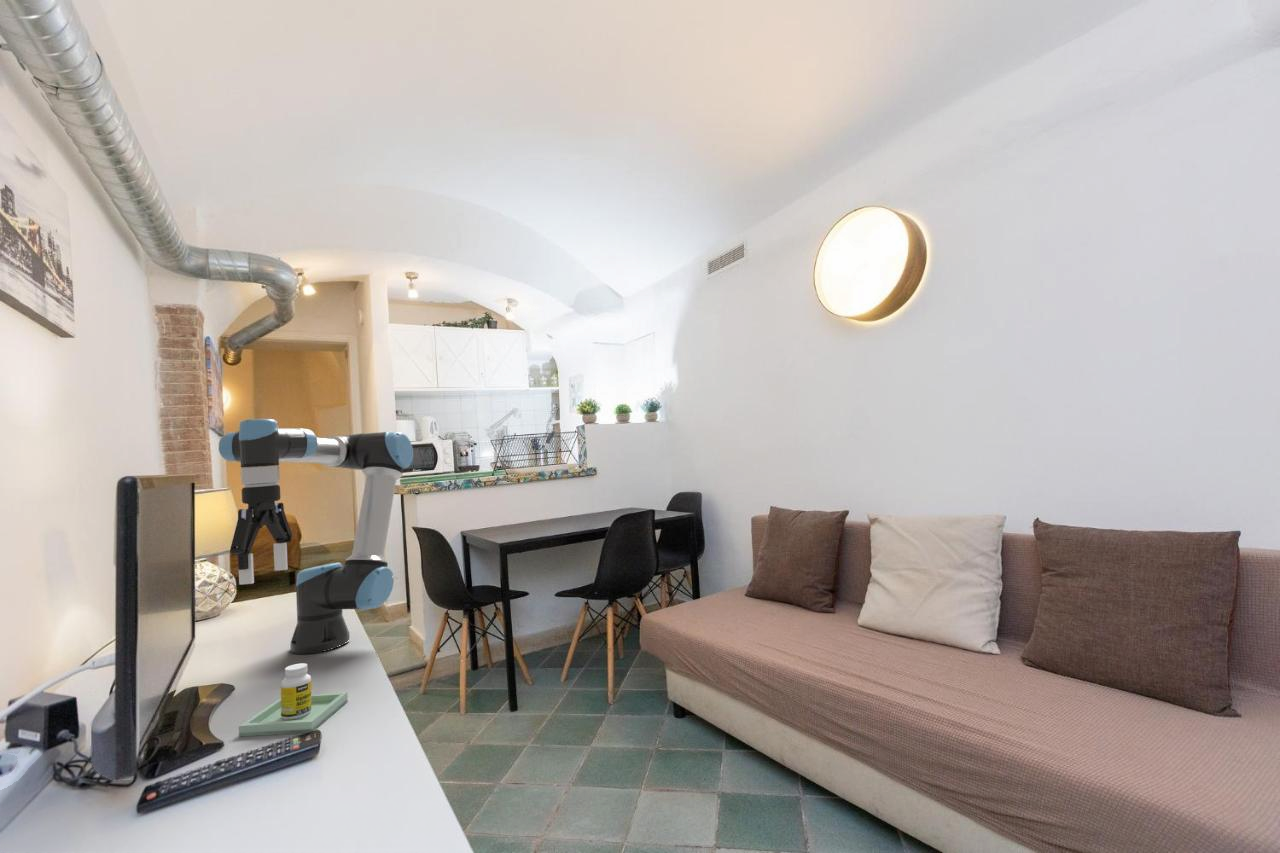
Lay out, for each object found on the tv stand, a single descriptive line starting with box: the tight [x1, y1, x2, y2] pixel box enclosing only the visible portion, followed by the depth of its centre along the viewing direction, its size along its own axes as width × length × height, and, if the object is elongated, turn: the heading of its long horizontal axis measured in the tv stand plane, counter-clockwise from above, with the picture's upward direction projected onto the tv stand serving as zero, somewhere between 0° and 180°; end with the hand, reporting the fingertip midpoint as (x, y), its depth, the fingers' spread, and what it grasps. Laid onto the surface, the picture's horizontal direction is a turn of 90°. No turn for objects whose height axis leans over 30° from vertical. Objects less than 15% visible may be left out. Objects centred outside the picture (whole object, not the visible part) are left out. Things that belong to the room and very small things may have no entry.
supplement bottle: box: [280, 662, 312, 720], centre depth 118 cm, size 5×5×10 cm
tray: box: [238, 692, 349, 738], centre depth 118 cm, size 14×14×2 cm
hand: (264, 576), depth 133 cm, fingers open, 13 cm apart
